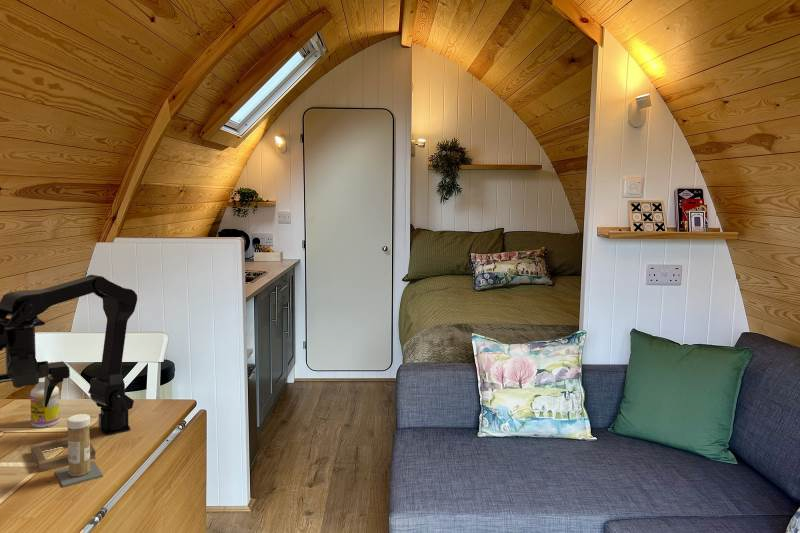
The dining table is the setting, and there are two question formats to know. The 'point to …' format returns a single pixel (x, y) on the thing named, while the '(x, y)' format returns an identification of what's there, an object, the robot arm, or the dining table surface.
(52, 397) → the supplement bottle
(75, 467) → the sprinkles bottle
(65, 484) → the grey flat square slab
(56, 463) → the walnut collar stand
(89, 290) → the robot arm
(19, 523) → the dining table surface
